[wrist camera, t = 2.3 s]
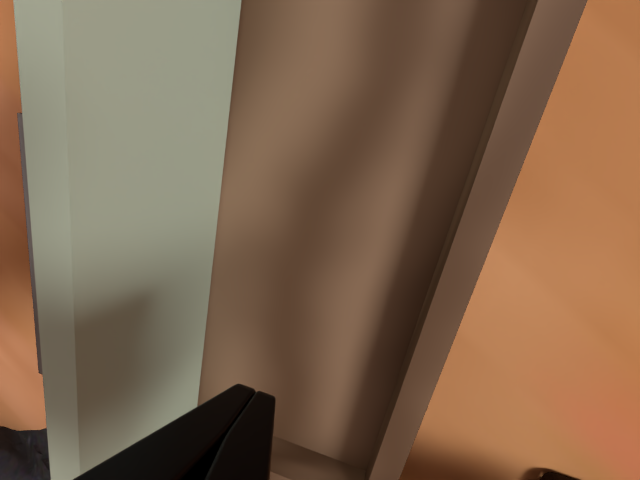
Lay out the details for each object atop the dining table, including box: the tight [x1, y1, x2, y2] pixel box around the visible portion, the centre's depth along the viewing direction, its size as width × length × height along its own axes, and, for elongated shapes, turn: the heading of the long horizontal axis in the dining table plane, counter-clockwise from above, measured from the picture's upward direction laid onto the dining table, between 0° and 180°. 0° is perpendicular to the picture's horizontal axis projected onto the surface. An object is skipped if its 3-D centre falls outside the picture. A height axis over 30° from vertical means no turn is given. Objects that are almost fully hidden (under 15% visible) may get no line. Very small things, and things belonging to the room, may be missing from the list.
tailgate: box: [13, 0, 241, 480], centre depth 14 cm, size 2×24×8 cm, turn 168°
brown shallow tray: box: [197, 0, 587, 480], centre depth 17 cm, size 12×26×3 cm, turn 168°
